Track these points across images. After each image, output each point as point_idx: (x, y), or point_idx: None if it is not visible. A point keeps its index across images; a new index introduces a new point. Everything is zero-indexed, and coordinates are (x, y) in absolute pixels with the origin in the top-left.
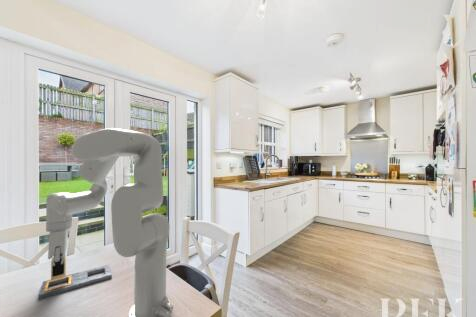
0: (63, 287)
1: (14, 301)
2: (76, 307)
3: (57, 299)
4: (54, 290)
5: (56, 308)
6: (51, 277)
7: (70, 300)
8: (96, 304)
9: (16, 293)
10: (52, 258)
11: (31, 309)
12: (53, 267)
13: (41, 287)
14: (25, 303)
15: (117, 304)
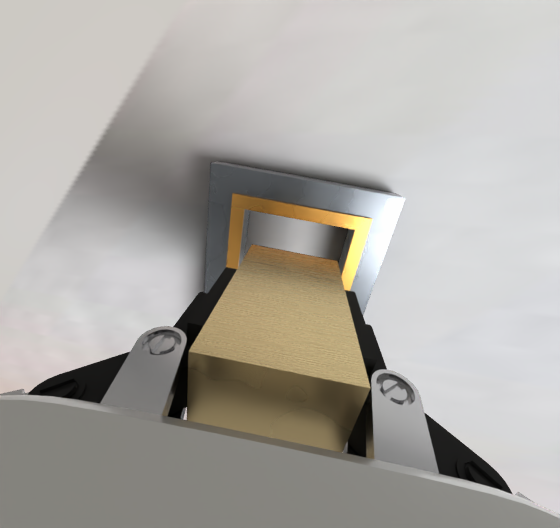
0: (215, 278)
1: (316, 26)
2: (51, 283)
3: (165, 237)
4: (210, 239)
5: (83, 224)
6: (246, 256)
7: (120, 276)
8: (39, 334)
9: (443, 31)
10: (337, 382)
11: (139, 125)
12: (193, 317)
13: (314, 183)
14: (233, 95)
15: (9, 374)
